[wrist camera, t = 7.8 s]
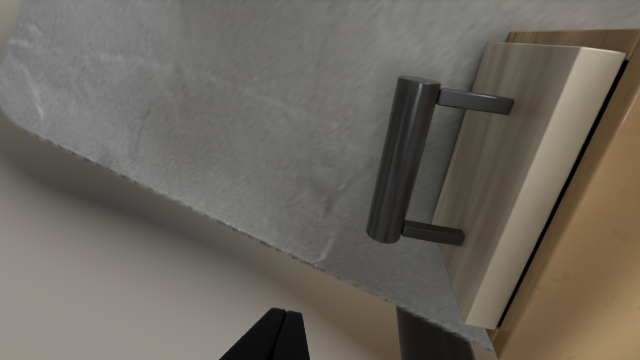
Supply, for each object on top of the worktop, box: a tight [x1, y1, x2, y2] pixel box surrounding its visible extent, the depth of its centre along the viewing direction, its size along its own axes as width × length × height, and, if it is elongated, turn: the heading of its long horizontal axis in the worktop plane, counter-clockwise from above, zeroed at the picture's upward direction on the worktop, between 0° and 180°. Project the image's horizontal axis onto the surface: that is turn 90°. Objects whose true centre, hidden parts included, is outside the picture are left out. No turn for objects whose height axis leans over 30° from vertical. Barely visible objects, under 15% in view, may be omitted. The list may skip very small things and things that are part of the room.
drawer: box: [366, 42, 626, 330], centre depth 14 cm, size 17×10×8 cm, turn 83°
